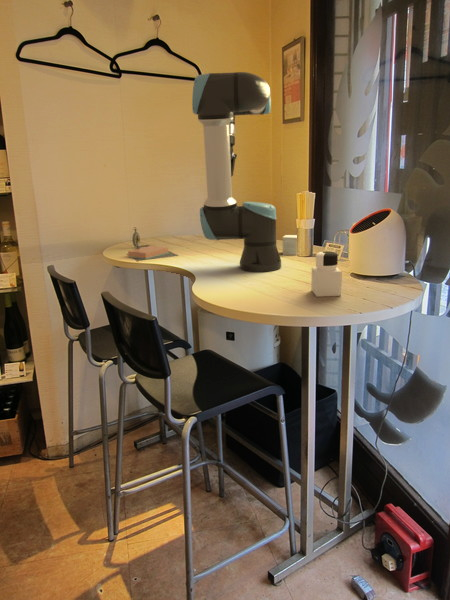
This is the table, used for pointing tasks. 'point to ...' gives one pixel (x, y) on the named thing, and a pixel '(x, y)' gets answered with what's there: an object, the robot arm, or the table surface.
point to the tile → (148, 252)
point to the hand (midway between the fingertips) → (225, 192)
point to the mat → (158, 256)
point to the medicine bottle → (326, 275)
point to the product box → (290, 245)
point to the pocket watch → (137, 240)
